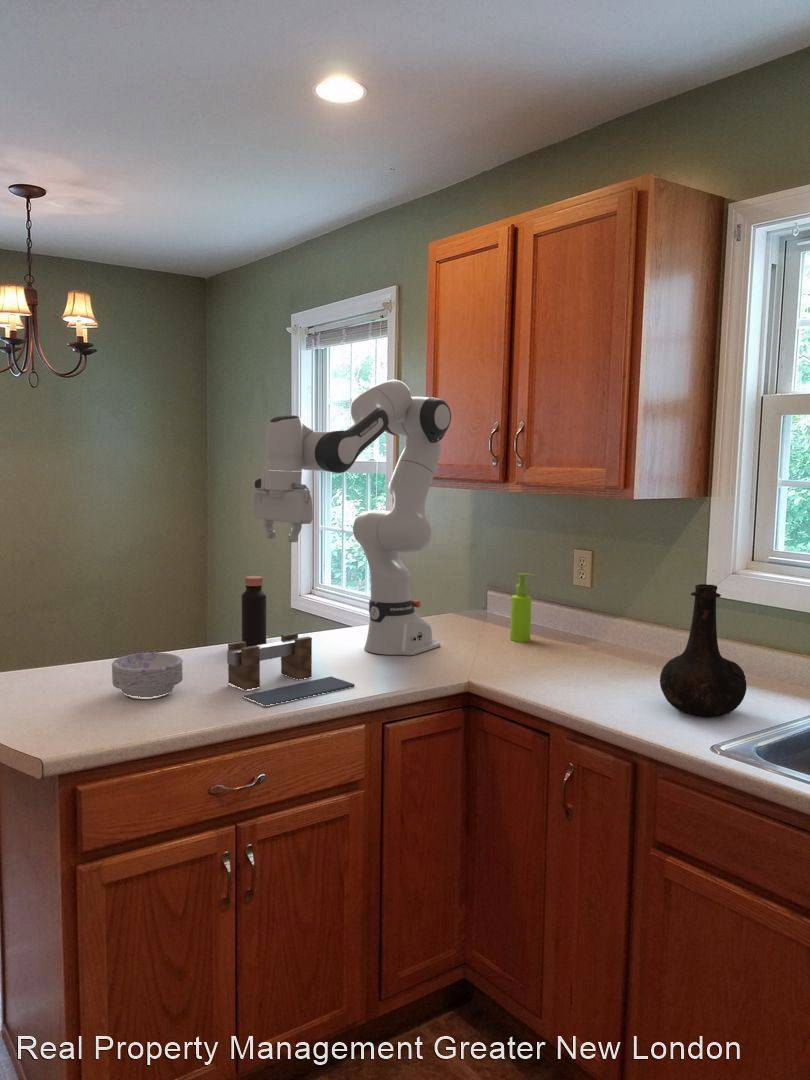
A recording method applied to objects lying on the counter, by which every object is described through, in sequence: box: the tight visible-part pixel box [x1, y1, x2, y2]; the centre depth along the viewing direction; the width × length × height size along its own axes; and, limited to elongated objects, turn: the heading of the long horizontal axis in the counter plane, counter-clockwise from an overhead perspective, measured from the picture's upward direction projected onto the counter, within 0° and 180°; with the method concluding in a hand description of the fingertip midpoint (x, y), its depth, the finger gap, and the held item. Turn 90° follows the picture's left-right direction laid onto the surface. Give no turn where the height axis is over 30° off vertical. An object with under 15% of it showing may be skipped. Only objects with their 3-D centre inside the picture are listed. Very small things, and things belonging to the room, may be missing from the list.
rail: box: [226, 639, 295, 666], centre depth 200 cm, size 22×3×3 cm, turn 133°
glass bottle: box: [659, 583, 747, 719], centre depth 180 cm, size 18×18×28 cm
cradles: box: [227, 632, 313, 690], centre depth 200 cm, size 19×7×10 cm, turn 133°
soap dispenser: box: [509, 572, 536, 643], centre depth 249 cm, size 6×7×20 cm
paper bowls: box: [111, 652, 184, 697], centre depth 188 cm, size 15×15×8 cm
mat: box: [242, 676, 356, 706], centre depth 192 cm, size 25×9×1 cm, turn 133°
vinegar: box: [241, 575, 267, 647], centre depth 233 cm, size 7×7×20 cm
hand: (281, 540), depth 201 cm, fingers open, 8 cm apart
